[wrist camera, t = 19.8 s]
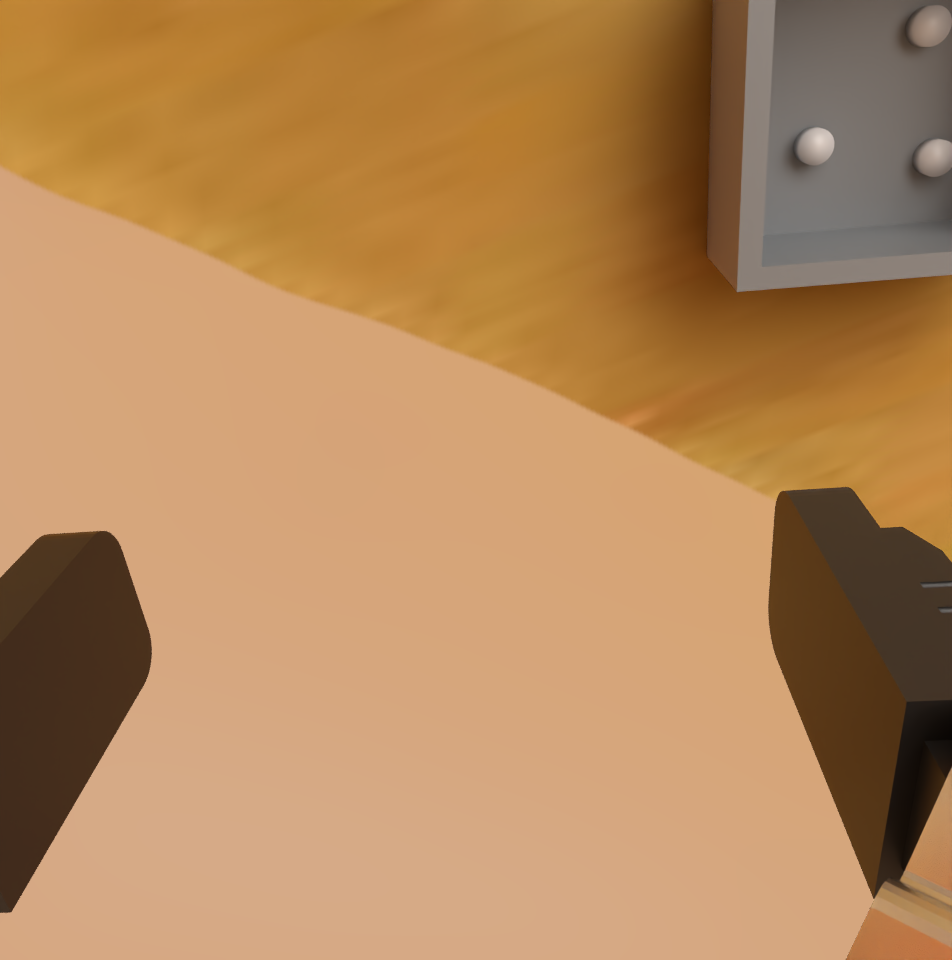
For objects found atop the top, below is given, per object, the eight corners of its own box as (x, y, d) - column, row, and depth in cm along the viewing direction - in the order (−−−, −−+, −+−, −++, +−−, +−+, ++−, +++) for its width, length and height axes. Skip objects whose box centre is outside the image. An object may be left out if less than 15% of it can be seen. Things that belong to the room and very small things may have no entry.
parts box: (714, -67, 38) (752, -88, 31) (1052, -107, 36) (1162, -137, 30) (706, 255, 44) (736, 291, 38) (995, 231, 43) (1075, 264, 36)
